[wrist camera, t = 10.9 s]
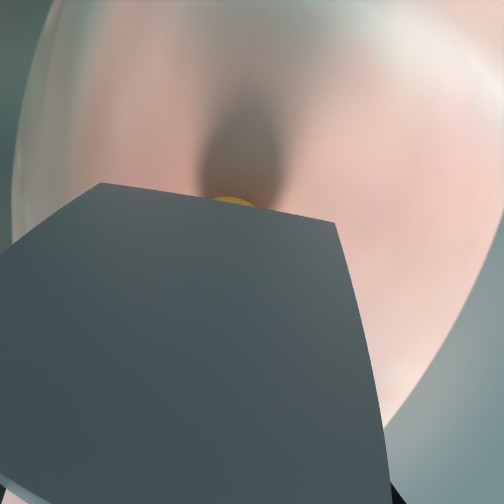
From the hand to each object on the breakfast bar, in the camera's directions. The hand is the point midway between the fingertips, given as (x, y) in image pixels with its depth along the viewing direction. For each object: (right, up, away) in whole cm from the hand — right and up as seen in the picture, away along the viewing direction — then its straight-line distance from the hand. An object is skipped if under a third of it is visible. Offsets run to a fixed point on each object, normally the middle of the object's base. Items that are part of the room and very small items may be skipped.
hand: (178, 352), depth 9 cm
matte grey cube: (0, +1, +3) cm, 3 cm away
